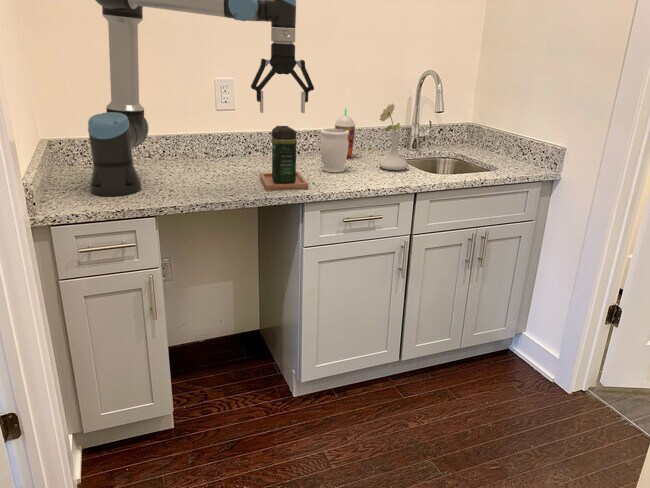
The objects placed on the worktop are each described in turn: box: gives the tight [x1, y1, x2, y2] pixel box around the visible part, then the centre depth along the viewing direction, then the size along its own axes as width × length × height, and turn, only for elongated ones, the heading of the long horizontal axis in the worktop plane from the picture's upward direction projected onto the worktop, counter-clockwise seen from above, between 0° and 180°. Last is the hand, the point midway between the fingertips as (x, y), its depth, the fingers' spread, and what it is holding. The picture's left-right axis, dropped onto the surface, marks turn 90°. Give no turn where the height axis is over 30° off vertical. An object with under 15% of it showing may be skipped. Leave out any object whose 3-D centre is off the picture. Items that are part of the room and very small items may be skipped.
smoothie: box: [334, 108, 356, 160], centre depth 220 cm, size 8×8×20 cm
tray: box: [259, 171, 309, 192], centre depth 183 cm, size 14×16×2 cm
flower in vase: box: [378, 102, 409, 171], centre depth 202 cm, size 13×11×25 cm
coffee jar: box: [271, 125, 297, 184], centre depth 179 cm, size 10×8×19 cm
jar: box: [319, 128, 349, 174], centre depth 200 cm, size 11×10×15 cm
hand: (282, 112), depth 174 cm, fingers open, 13 cm apart
